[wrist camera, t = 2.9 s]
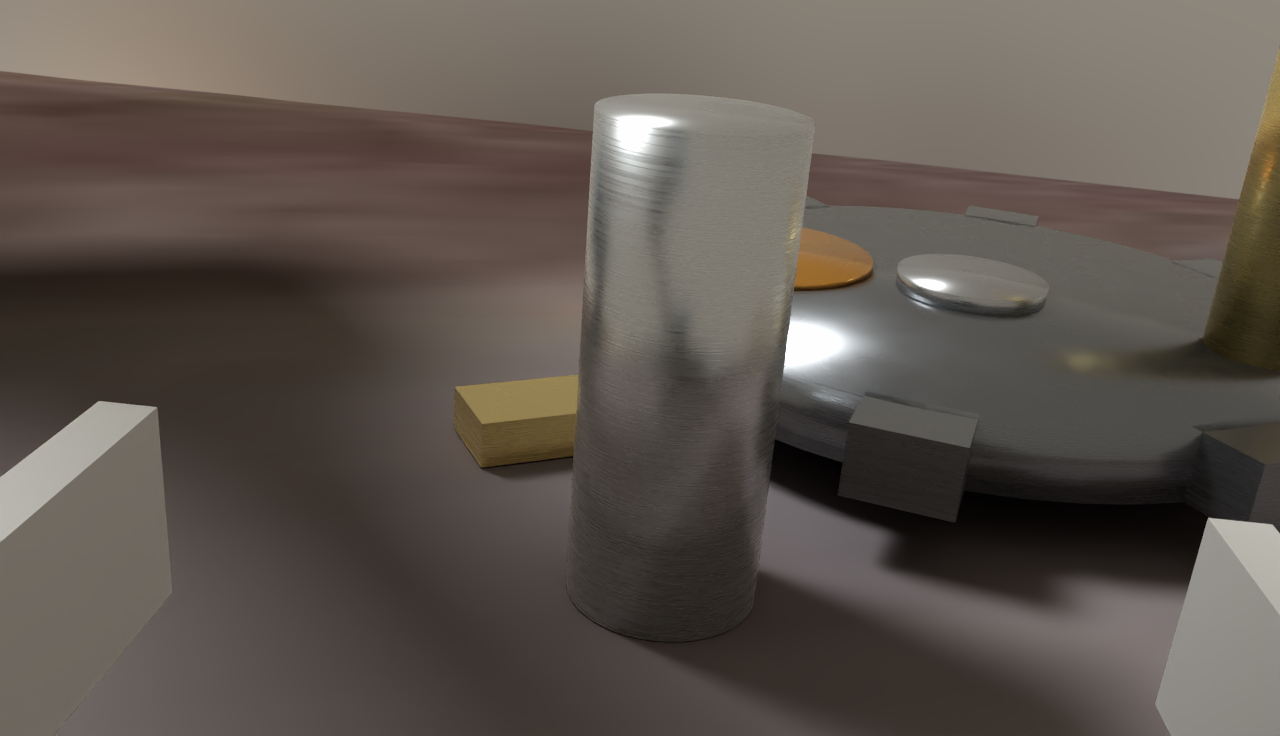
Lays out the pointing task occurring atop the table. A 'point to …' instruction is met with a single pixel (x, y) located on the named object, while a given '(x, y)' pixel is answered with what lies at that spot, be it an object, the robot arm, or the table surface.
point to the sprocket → (1039, 358)
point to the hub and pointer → (517, 419)
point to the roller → (682, 357)
